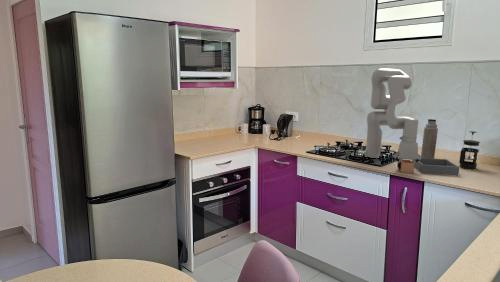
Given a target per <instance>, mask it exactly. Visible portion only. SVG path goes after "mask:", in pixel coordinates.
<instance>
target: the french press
mask: <svg viewBox="0 0 500 282" xmlns="http://www.w3.org/2000/svg"><path fill="white" fill-rule="evenodd" d="M469 133H471V139H464V140H462V141H463V145H465V146H470V147H462V148H461V149H460V155H459V163H458V164H459V166H458V167H460V168H459V169H463V168H464V169H463V170H469V169H471V171H475V170H474V169H476V170H478V169H477V168H478V167H477V165H478V163H477V160H478V153H479V152H480V149H478V148H474V147H479V145H480V144H481V142H480V141H479V140H473V138H474V134H476V133H478V132H477V131H472V130H471V131H469ZM473 146H474V147H473ZM466 153H469V154H468V156H466ZM471 153H473V156H471Z"/></svg>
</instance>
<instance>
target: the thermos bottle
mask: <svg viewBox="0 0 500 282" xmlns="http://www.w3.org/2000/svg"><path fill="white" fill-rule="evenodd" d="M438 132H439V128H438V124H437V119H432V118H429V119H428V118H427V123H426V124H425V127H424V129H423V135H422V137H423V138H422V143H421V153H420V156H421V157H422V158H434V159H435V154H436V147H437V141H438V140H437V139H438V138H437V137H438V134H439V133H438Z"/></svg>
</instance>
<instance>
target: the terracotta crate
mask: <svg viewBox="0 0 500 282" xmlns="http://www.w3.org/2000/svg"><path fill="white" fill-rule="evenodd" d="M414 166H415V163H414V162H412V160H411V159H402V161H401V169H398V171H399V172H400V173H402V174H414V172H415V169H414Z"/></svg>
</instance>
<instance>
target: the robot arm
mask: <svg viewBox="0 0 500 282" xmlns="http://www.w3.org/2000/svg"><path fill="white" fill-rule="evenodd" d="M384 83H387V88H388V94H386V91H387V89H386V85H385V84H384ZM412 84H413V83H412V79H411V77H410V76H409V75H408V74H406V73H405V72H404V71H403V70H401V69H397V68H378V69H376V70H374V71H373V73H372V75H371V88H372V89H371V97H370V98H371V99H370V106H371V108H372V109H374V111H370V112H369V113H368V114H367V117H366V123H367V131H366V133H367V134H366V143H365V149H364V150H358V152H357V153H358V154H359V155H360V154H361V155H365V157H367V156H368V157H370V158H377V157H379V156H381V148H382V138H383V130H382V129H381V127H382V126H385V127H386V126H388V127H389V128H390V129H393V130H402V136H400V137H399V140H401V141H400V142H399V146H398V149H397V150H398V151H396V153H394V154H393V155H392V157H393V158H394V159H395V160H396V162H397V166H396V167H397V170H399V169H401V161H402V159H404V160H411V161H413V162H414V163H415V164H416V163H417V162H418V161H419V160H420V159H422V157H421V154H419V147H418V146H419V144H418V142H417V138H418V137H417V136H418V129H419V119H417V118H412V117H410V116H399V115H398V116H396V114H395V113H396V112H395V111H396V107H397V105H400V104H402V103H404V102H405V101H406V94H405V91H406V90H409V89H410V88H411V87H412ZM375 110H377V111H375ZM381 110H383V111H381ZM417 157H418V158H417ZM415 159H416V160H415ZM415 169H416V168H415V166H414V170H415Z"/></svg>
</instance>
